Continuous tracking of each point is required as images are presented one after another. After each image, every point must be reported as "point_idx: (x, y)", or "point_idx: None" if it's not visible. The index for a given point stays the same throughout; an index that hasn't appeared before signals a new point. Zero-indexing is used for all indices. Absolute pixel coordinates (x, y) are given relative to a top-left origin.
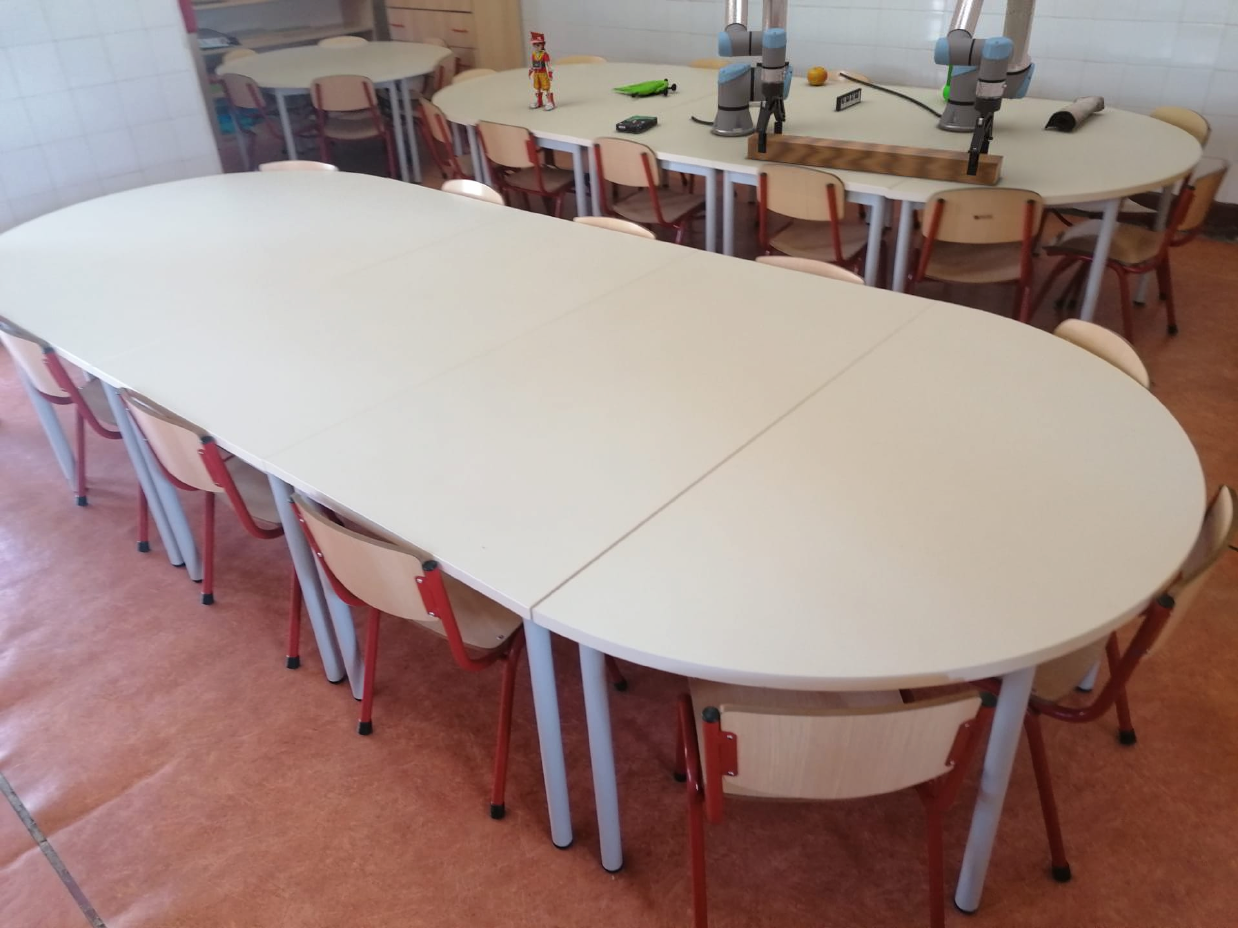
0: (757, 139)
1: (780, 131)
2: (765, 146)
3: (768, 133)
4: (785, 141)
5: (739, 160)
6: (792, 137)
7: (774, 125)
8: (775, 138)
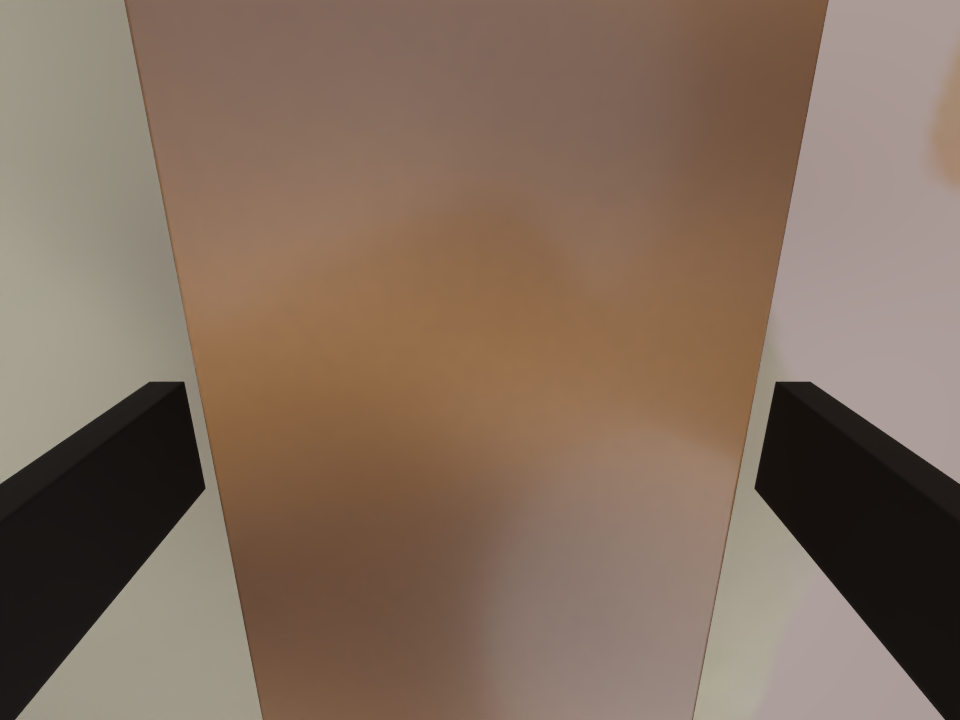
0: (699, 665)
1: (69, 490)
2: (878, 435)
3: (277, 636)
4: (767, 76)
5: None
6: (333, 41)
7: (21, 703)
8: (566, 406)
